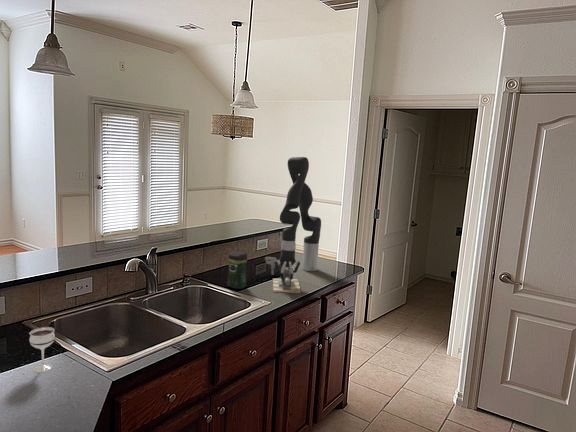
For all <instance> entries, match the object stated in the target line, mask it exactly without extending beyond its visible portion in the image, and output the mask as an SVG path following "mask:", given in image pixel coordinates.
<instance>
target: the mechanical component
mask: <svg viewBox="0 0 576 432" xmlns="http://www.w3.org/2000/svg"><path fill="white" fill-rule="evenodd" d="M275 260H277V258H276V257H273V256H266V257H264V261H265V263H266V265H270V268H271V275H272V276H274V275H275V268H276V264H275ZM278 260H280V258H279V259H278ZM280 265H282V264H281V263H280V262H279V264H278V266H280Z"/></svg>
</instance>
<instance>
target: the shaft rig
mask: <svg viewBox="0 0 576 432" xmlns="http://www.w3.org/2000/svg"><path fill="white" fill-rule="evenodd" d="M286 268H287V269H289V267H285V268H284V269H286ZM272 292H273V293H293V294H297V293H298V294H301V288H300V284H299V279H298V278H297V279H295V278H293V279H291V280H290V278H289V277H286V278H285V281H283V280H282V279H281V278H272Z"/></svg>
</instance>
